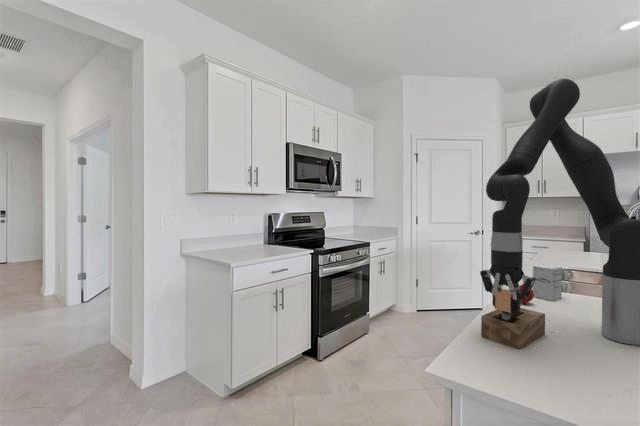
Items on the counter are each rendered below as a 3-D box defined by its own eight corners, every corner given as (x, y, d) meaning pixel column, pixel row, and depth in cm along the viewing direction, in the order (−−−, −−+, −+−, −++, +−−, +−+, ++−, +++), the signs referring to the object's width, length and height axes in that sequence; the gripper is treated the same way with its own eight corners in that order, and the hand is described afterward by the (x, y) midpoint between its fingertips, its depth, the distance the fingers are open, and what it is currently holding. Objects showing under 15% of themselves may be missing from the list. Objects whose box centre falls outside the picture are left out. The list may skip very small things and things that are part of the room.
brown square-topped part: (517, 338, 90) (517, 291, 90) (510, 342, 88) (510, 294, 87) (501, 333, 93) (502, 288, 93) (494, 337, 91) (495, 291, 90)
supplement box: (531, 296, 130) (532, 265, 130) (542, 294, 134) (542, 263, 134) (552, 301, 124) (552, 268, 124) (562, 298, 127) (563, 266, 127)
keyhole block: (544, 334, 94) (545, 313, 93) (519, 349, 84) (519, 326, 84) (508, 324, 102) (508, 305, 102) (481, 336, 92) (481, 315, 92)
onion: (532, 307, 118) (533, 285, 118) (514, 304, 121) (514, 282, 121) (534, 303, 122) (534, 281, 122) (516, 300, 126) (516, 279, 126)
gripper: (541, 250, 86) (540, 314, 87) (487, 244, 98) (487, 301, 98) (529, 252, 82) (528, 320, 82) (474, 246, 93) (473, 306, 94)
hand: (505, 310), depth 90 cm, fingers closed on brown square-topped part, 4 cm apart
